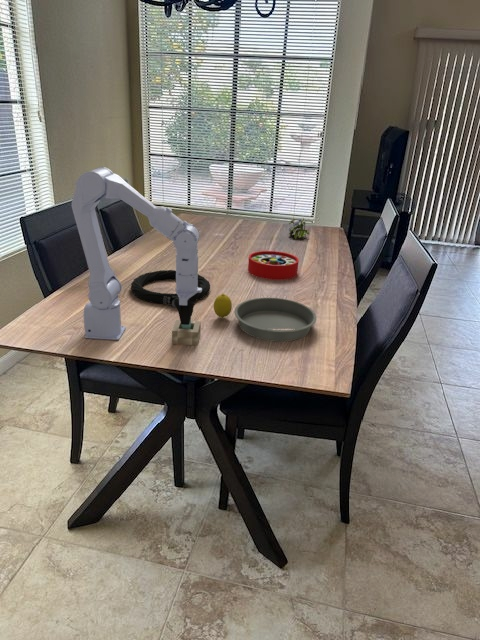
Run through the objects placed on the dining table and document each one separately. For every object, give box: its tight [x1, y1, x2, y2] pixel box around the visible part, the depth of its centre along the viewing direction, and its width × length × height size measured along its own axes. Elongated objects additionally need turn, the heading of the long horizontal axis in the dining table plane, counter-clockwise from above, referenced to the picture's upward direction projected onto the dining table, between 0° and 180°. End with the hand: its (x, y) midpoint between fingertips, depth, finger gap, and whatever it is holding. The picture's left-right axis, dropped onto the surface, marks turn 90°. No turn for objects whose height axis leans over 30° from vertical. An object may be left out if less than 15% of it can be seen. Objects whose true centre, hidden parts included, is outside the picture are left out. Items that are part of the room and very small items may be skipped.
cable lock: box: [130, 269, 211, 309], centre depth 161 cm, size 28×4×30 cm
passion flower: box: [288, 218, 310, 240], centre depth 239 cm, size 11×11×12 cm
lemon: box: [213, 293, 233, 319], centre depth 141 cm, size 6×6×8 cm
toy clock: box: [247, 250, 300, 281], centre depth 186 cm, size 20×6×20 cm
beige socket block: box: [171, 319, 202, 346], centre depth 128 cm, size 7×7×4 cm
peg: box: [182, 318, 192, 329], centre depth 127 cm, size 2×2×9 cm
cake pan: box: [234, 297, 317, 342], centre depth 139 cm, size 25×25×4 cm
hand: (186, 319), depth 126 cm, fingers open, 5 cm apart
